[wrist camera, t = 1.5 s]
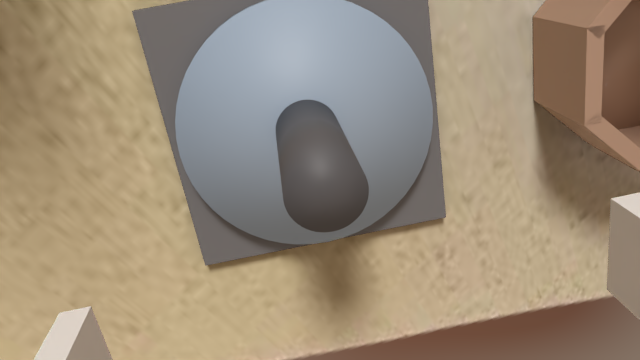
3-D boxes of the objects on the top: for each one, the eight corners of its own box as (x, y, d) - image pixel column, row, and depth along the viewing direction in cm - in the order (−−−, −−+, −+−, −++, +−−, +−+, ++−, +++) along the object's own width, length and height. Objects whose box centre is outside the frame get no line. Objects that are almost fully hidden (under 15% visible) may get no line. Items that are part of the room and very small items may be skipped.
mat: (206, 260, 31) (205, 265, 31) (134, 10, 26) (132, 11, 25) (442, 212, 32) (445, 217, 31) (420, -42, 27) (424, -42, 26)
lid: (212, 256, 31) (196, 366, 22) (146, 20, 26) (94, 50, 17) (436, 211, 31) (502, 302, 23) (415, -29, 26) (489, -23, 18)
